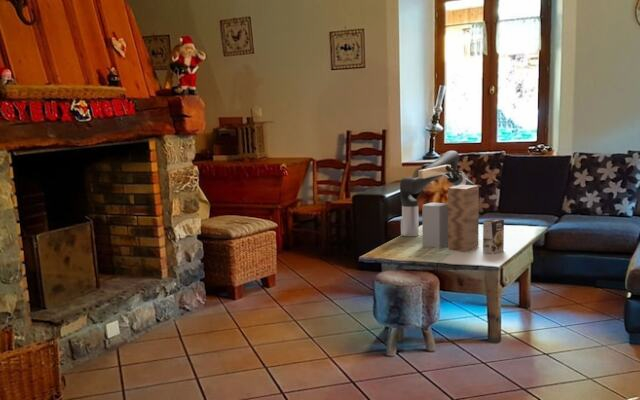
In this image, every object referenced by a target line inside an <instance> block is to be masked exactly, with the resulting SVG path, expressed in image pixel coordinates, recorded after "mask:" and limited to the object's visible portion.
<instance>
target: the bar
mask: <svg viewBox="0 0 640 400" xmlns="http://www.w3.org/2000/svg"><path fill="white" fill-rule="evenodd" d="M447 166H449V167H450V168H451V165H447ZM446 173H449V172H448V171H447V170H446V165H442V166H437V167H433V168H428V169H424V168H422V169H419V170H418V177H419V178H421V179H425V178H429V177H433V176H438V175H442V174H446ZM442 176H443V175H442Z"/></svg>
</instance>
